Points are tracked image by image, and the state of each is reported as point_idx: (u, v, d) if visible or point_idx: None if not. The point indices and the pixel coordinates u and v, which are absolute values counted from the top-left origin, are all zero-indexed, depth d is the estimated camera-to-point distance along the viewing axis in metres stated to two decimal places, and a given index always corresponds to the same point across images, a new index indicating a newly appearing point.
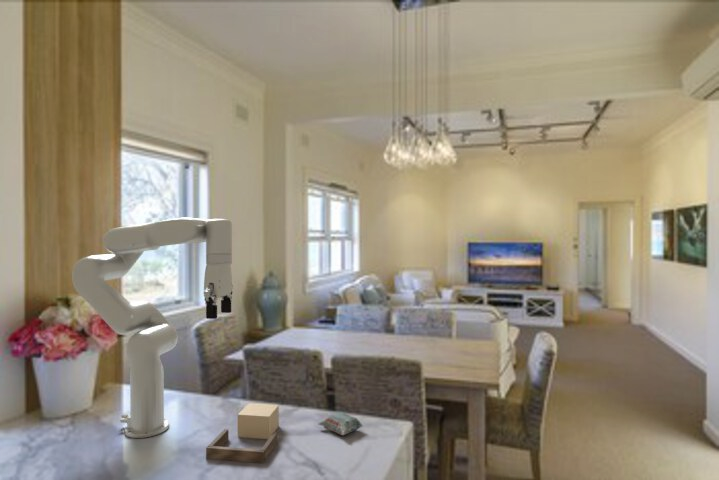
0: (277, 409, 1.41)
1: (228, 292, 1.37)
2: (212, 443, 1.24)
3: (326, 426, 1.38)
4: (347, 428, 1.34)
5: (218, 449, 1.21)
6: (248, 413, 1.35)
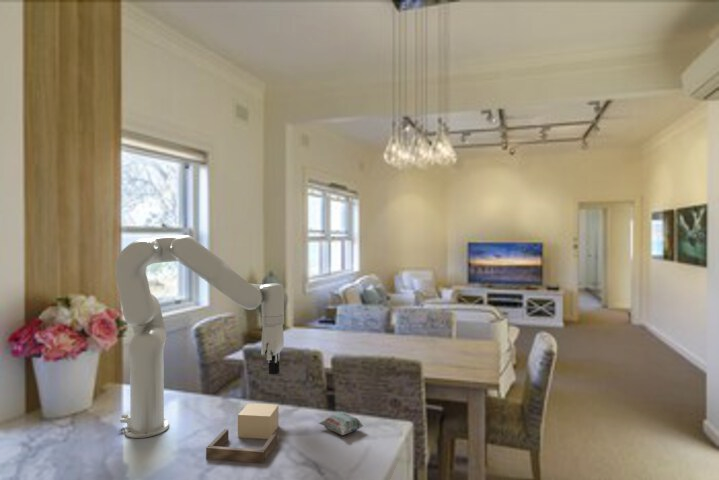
0: (277, 409, 1.41)
1: (281, 348, 1.52)
2: (212, 443, 1.24)
3: (326, 426, 1.38)
4: (347, 428, 1.34)
5: (218, 449, 1.21)
6: (248, 413, 1.35)
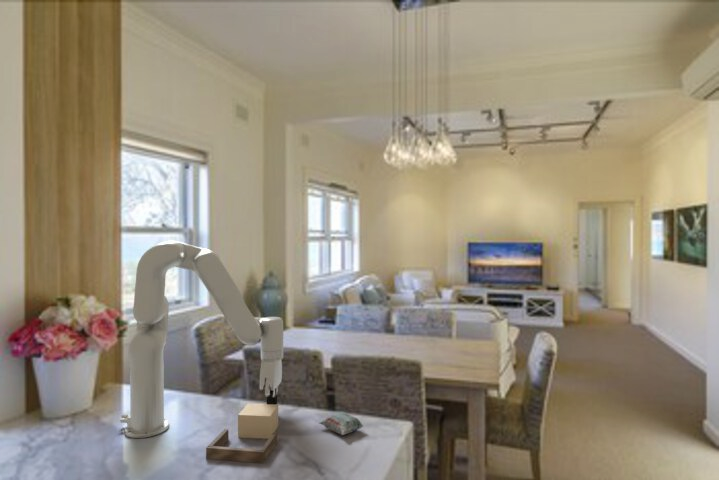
0: (277, 409, 1.41)
1: (279, 382, 1.52)
2: (212, 443, 1.24)
3: (327, 425, 1.38)
4: (347, 428, 1.34)
5: (218, 449, 1.21)
6: (248, 413, 1.35)
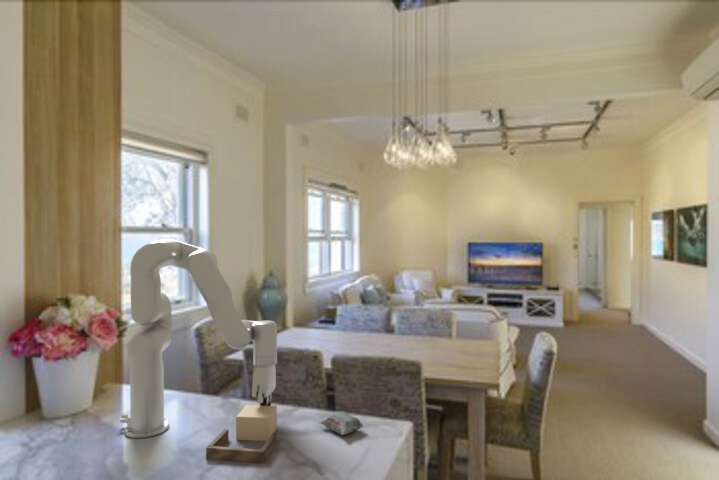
0: (276, 411, 1.40)
1: (273, 388, 1.45)
2: (212, 443, 1.24)
3: (327, 425, 1.38)
4: (347, 428, 1.34)
5: (218, 449, 1.21)
6: (246, 415, 1.33)
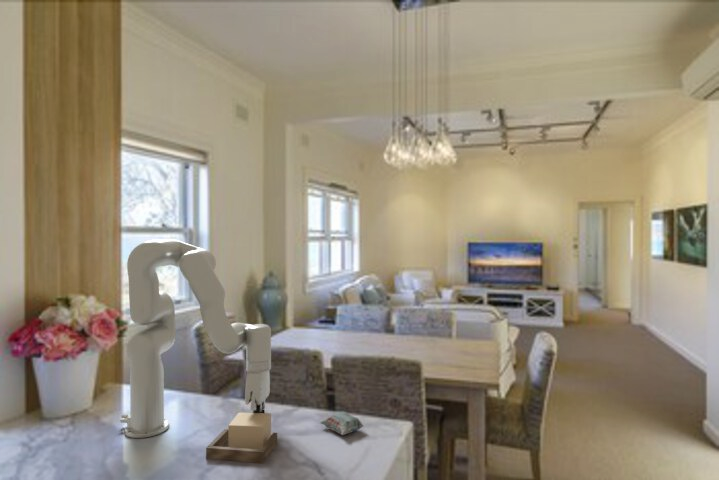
0: (270, 418, 1.34)
1: (267, 395, 1.39)
2: (212, 443, 1.24)
3: (327, 425, 1.39)
4: (347, 428, 1.34)
5: (218, 449, 1.21)
6: (239, 423, 1.28)
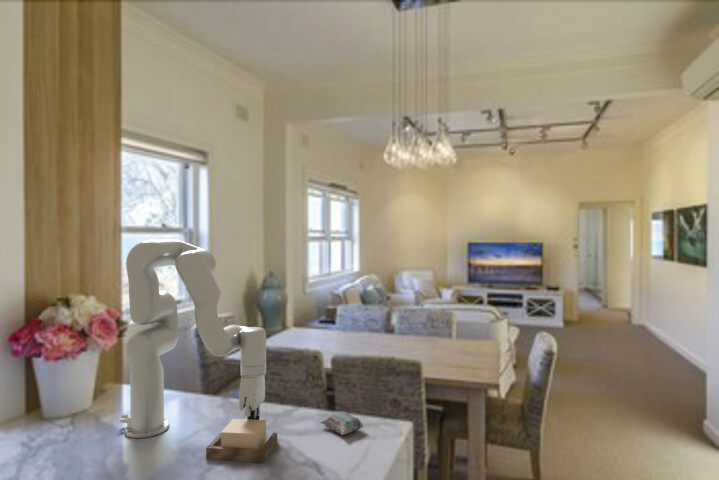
0: (265, 425, 1.30)
1: (262, 400, 1.35)
2: (212, 443, 1.24)
3: (327, 425, 1.39)
4: (347, 428, 1.34)
5: (218, 449, 1.21)
6: (232, 430, 1.23)
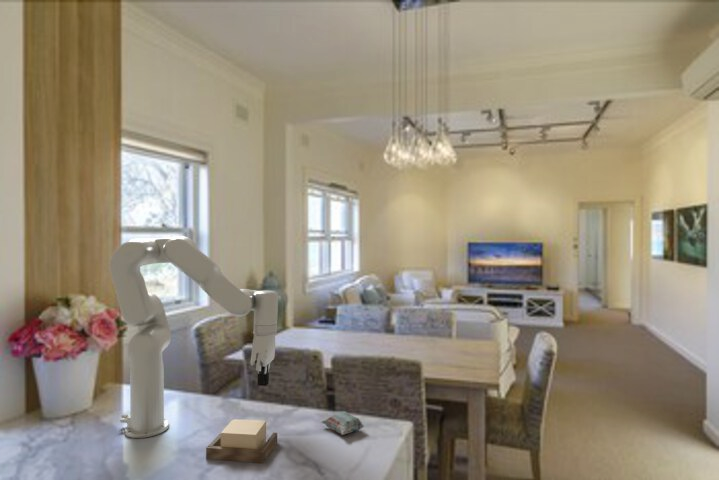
0: (265, 426, 1.29)
1: (272, 359, 1.45)
2: (212, 443, 1.24)
3: (328, 425, 1.39)
4: (347, 428, 1.34)
5: (218, 449, 1.21)
6: (232, 431, 1.23)
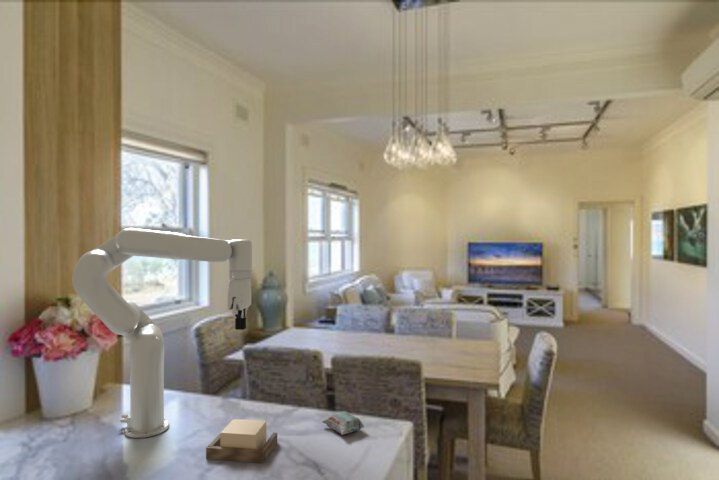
0: (265, 426, 1.29)
1: (248, 304, 1.53)
2: (212, 443, 1.24)
3: (328, 424, 1.39)
4: (347, 428, 1.34)
5: (218, 449, 1.21)
6: (232, 431, 1.23)
